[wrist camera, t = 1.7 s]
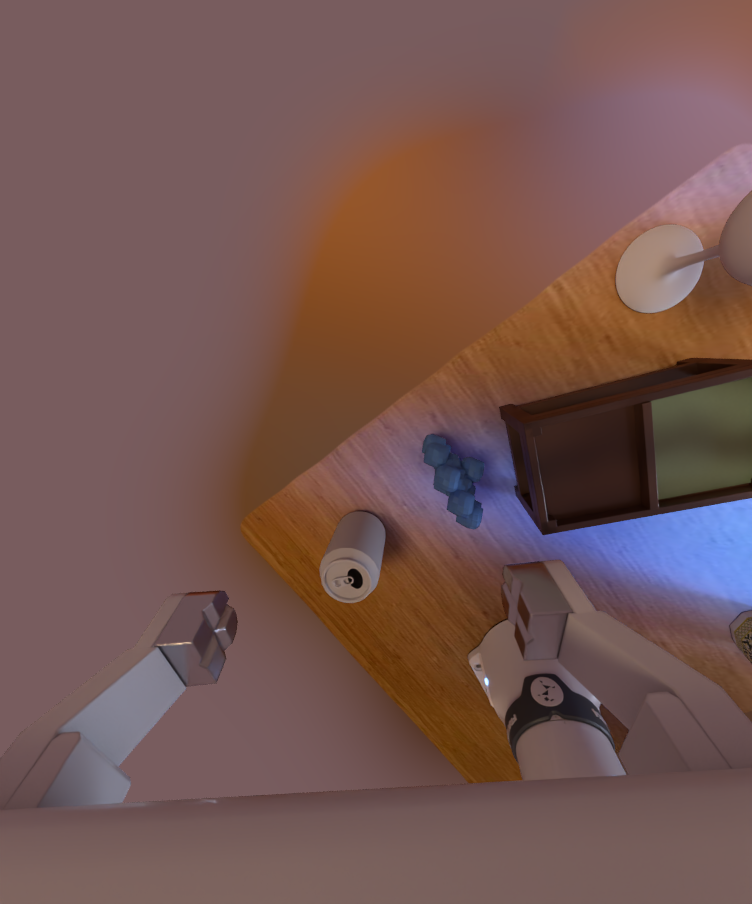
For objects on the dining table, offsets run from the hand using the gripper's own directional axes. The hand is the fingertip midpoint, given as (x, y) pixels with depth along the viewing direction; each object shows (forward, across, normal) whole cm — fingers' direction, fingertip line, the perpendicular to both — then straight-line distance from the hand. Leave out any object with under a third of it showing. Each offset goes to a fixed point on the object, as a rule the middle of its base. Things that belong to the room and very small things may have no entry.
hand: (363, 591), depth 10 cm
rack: (+32, +28, -13) cm, 44 cm away
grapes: (+33, +10, -15) cm, 38 cm away
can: (+33, -5, -26) cm, 42 cm away
